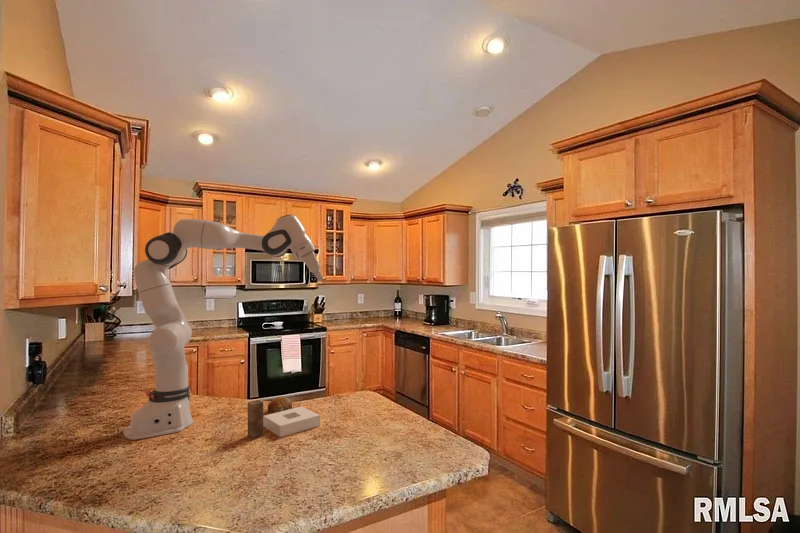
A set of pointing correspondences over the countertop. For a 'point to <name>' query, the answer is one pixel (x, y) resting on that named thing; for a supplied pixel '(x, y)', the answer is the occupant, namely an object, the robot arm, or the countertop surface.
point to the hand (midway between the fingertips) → (320, 280)
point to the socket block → (291, 421)
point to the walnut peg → (255, 419)
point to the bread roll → (279, 405)
